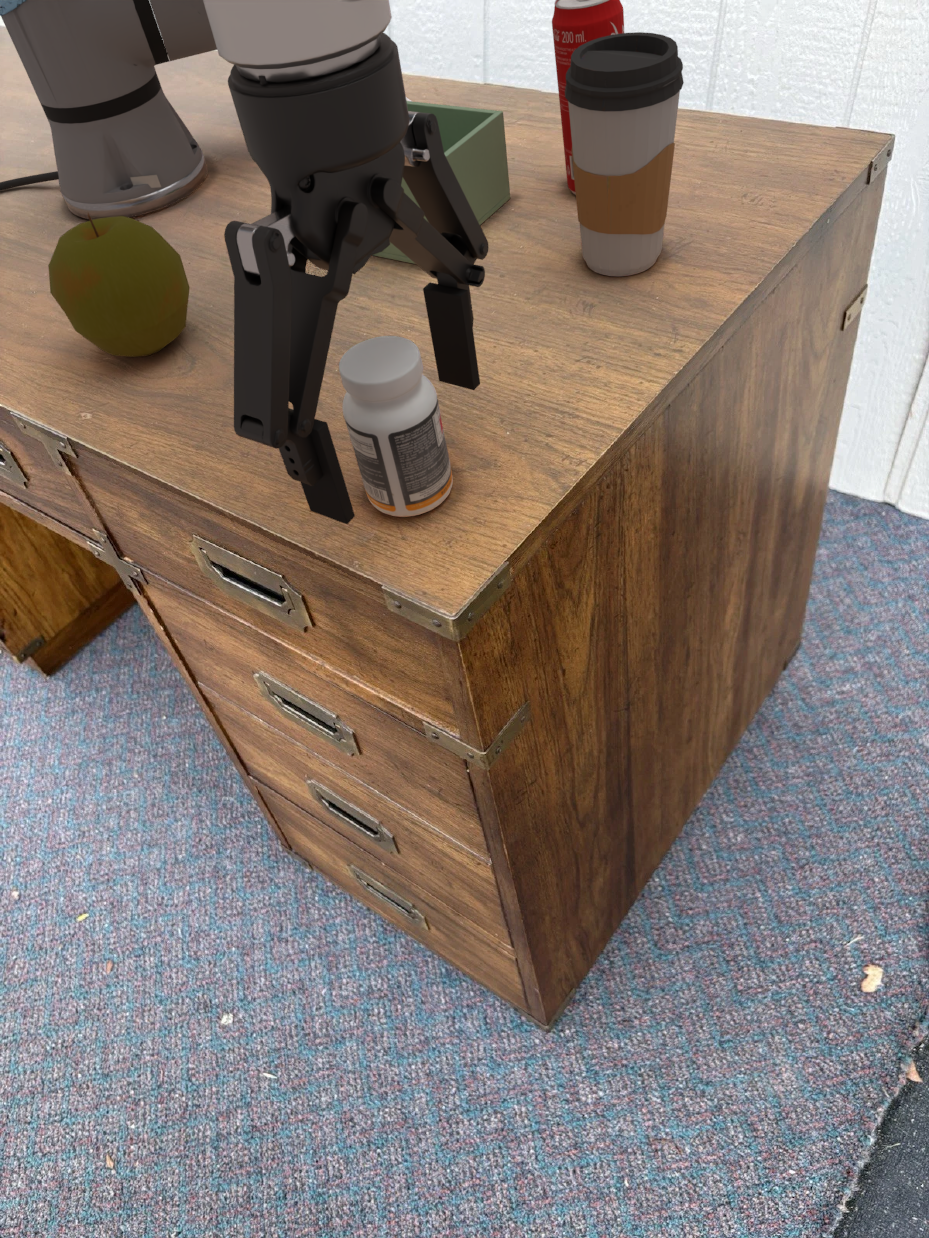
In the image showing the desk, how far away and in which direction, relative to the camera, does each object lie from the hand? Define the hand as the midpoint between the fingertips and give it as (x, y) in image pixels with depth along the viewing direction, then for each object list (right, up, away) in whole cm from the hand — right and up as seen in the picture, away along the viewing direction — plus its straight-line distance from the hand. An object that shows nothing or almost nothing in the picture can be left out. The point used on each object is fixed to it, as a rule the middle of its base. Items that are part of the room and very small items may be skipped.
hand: (400, 444), depth 54 cm
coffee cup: (+17, +19, +19) cm, 31 cm away
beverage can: (+16, +29, +28) cm, 43 cm away
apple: (-22, +12, +19) cm, 32 cm away
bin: (-1, +26, +27) cm, 38 cm away
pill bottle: (0, -2, +3) cm, 4 cm away
